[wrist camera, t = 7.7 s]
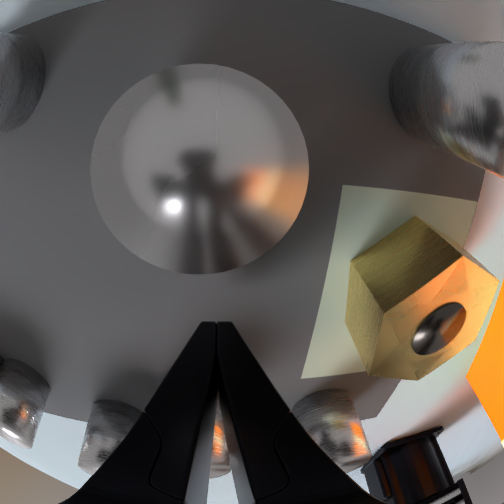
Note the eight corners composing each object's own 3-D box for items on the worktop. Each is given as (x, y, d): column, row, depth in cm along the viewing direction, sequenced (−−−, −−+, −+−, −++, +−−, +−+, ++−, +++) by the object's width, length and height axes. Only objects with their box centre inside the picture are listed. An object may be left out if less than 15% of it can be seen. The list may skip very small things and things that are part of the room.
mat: (485, 66, 6) (497, 67, 6) (373, 409, 15) (376, 417, 15) (-91, 100, 4) (-100, 103, 4) (9, 393, 13) (6, 400, 12)
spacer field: (469, 56, 6) (556, 65, 3) (353, 421, 14) (369, 473, 11) (-100, 107, 4) (-153, 130, 1) (6, 400, 12) (-10, 442, 9)
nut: (463, 210, 8) (512, 246, 6) (435, 321, 11) (464, 363, 9) (352, 222, 8) (393, 271, 6) (341, 345, 11) (362, 399, 9)
